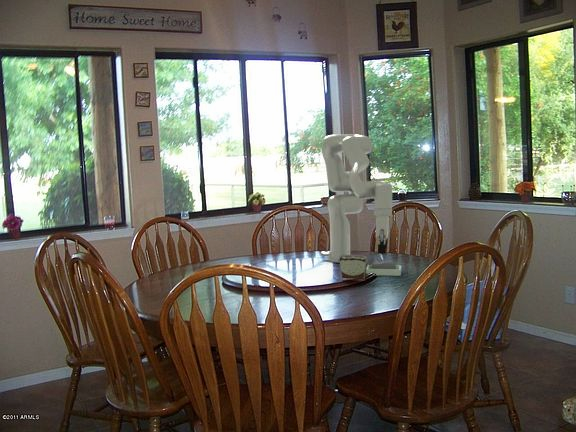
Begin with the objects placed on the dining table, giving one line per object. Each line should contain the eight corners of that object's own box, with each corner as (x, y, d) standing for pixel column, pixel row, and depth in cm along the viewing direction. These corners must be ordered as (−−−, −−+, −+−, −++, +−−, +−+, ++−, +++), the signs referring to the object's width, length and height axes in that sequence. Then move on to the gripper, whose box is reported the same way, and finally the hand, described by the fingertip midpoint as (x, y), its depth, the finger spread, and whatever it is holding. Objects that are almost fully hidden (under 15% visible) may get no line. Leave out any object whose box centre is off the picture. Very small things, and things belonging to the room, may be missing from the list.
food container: (370, 278, 269) (370, 255, 268) (367, 281, 263) (367, 257, 262) (342, 277, 273) (341, 253, 272) (338, 280, 267) (337, 256, 266)
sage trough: (366, 275, 276) (366, 269, 276) (367, 270, 285) (367, 265, 284) (400, 275, 273) (400, 269, 273) (401, 271, 282) (401, 265, 282)
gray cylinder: (371, 273, 278) (371, 263, 277) (372, 270, 282) (372, 261, 281) (397, 273, 276) (397, 263, 275) (397, 271, 280) (397, 261, 279)
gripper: (375, 208, 285) (374, 246, 288) (372, 214, 268) (372, 255, 271) (392, 209, 284) (391, 247, 286) (391, 215, 267) (390, 255, 270)
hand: (382, 251), depth 279 cm, fingers open, 9 cm apart
